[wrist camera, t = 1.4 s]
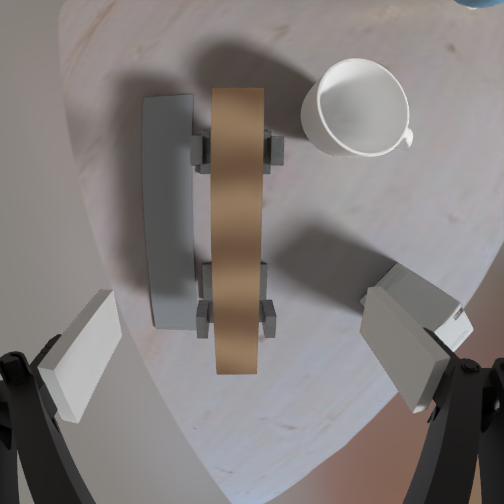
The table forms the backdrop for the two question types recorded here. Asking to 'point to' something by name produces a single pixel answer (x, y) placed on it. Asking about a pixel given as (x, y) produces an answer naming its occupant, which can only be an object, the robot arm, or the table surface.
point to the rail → (236, 224)
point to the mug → (356, 111)
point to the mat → (169, 209)
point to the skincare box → (427, 305)
